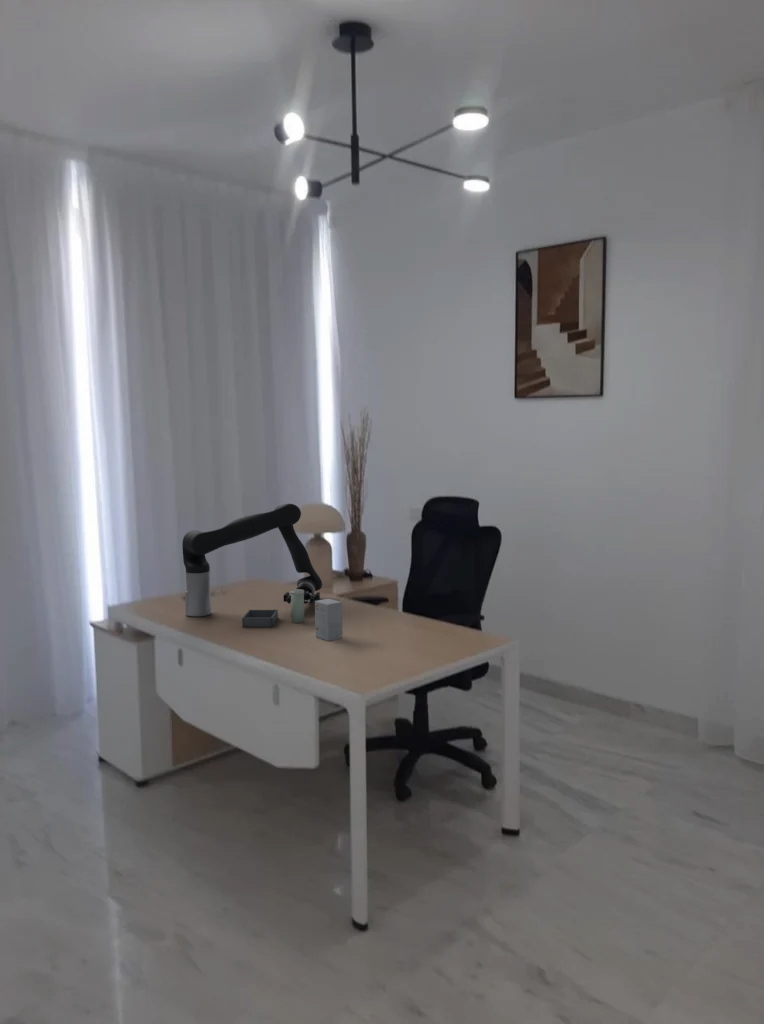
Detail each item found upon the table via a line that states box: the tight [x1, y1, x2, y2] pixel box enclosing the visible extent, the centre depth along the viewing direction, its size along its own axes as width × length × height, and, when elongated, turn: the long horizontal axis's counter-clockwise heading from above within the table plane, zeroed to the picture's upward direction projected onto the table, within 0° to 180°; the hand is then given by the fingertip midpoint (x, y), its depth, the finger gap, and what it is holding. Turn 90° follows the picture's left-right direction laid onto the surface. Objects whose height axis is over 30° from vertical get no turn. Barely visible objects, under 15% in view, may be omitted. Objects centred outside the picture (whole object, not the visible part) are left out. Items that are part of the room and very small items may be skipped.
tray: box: [241, 609, 279, 628], centre depth 305 cm, size 11×13×4 cm
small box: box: [314, 598, 343, 642], centre depth 283 cm, size 8×6×13 cm
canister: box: [290, 588, 305, 624], centre depth 306 cm, size 5×5×12 cm
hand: (299, 601), depth 313 cm, fingers open, 8 cm apart
